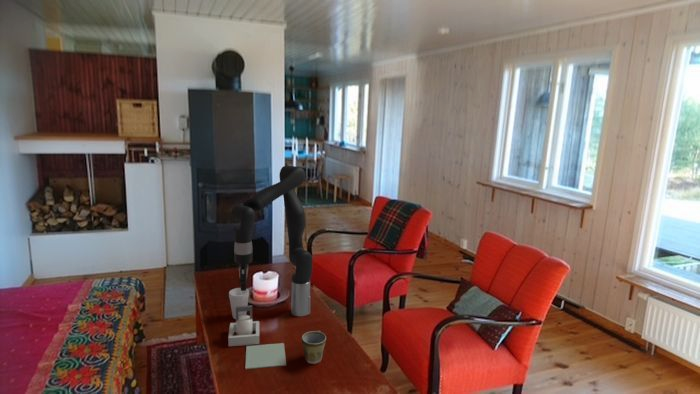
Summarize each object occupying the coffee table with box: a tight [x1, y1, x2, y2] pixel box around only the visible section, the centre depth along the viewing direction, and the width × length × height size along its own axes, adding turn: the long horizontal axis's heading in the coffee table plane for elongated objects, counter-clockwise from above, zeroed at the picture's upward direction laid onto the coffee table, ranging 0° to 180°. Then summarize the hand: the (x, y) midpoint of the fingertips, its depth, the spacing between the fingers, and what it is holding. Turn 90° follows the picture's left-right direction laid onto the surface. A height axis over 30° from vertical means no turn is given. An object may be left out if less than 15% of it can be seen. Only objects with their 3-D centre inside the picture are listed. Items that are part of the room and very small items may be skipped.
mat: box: [244, 342, 287, 370], centre depth 174 cm, size 16×16×1 cm
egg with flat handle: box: [235, 304, 254, 336], centre depth 186 cm, size 7×7×15 cm
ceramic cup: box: [301, 329, 327, 365], centre depth 174 cm, size 13×10×10 cm
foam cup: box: [228, 287, 250, 320], centre depth 205 cm, size 10×9×13 cm
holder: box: [227, 320, 260, 347], centre depth 187 cm, size 13×13×4 cm
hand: (243, 286), depth 183 cm, fingers open, 8 cm apart
